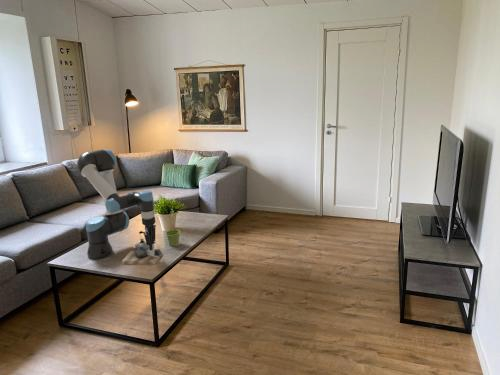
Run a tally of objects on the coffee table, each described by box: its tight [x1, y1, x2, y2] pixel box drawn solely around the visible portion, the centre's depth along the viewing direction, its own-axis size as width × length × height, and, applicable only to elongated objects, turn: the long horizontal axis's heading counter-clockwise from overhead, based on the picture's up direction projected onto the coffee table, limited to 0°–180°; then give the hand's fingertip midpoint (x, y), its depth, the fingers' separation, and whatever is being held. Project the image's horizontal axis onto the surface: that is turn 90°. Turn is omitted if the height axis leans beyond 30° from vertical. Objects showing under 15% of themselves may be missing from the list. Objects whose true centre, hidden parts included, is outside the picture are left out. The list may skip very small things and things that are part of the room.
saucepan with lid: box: [134, 243, 162, 258], centre depth 228 cm, size 16×8×7 cm, turn 75°
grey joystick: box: [134, 230, 149, 248], centre depth 244 cm, size 12×10×10 cm
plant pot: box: [165, 229, 181, 247], centre depth 249 cm, size 9×9×9 cm
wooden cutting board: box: [121, 250, 163, 265], centre depth 231 cm, size 20×14×2 cm
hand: (152, 254), depth 226 cm, fingers closed
